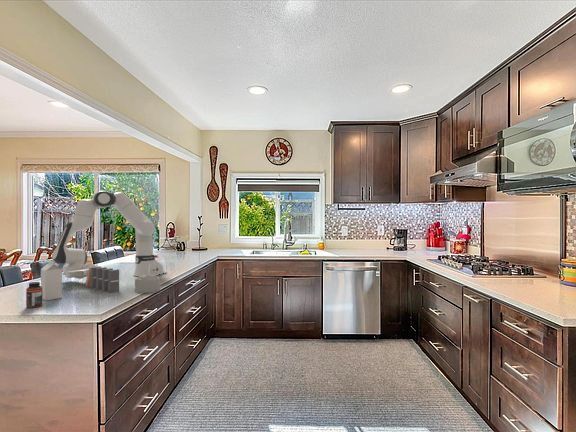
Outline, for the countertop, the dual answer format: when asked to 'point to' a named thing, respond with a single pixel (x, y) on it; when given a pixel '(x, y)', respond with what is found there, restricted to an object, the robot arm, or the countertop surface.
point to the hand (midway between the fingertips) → (91, 273)
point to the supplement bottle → (34, 295)
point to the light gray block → (147, 283)
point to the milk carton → (51, 281)
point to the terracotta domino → (89, 278)
